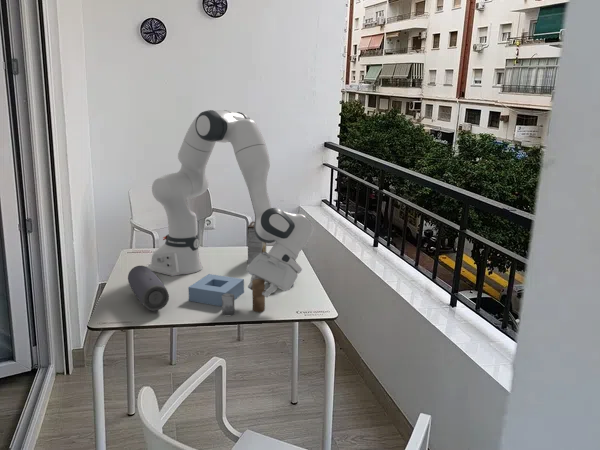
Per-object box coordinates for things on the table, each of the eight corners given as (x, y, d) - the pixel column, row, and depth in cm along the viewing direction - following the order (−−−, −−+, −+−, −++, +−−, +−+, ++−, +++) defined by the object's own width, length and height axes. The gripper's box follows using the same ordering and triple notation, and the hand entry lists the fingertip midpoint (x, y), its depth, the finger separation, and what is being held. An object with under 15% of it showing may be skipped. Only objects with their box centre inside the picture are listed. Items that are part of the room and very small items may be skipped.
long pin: (250, 311, 168) (250, 282, 165) (255, 306, 172) (255, 278, 169) (261, 313, 167) (261, 284, 164) (266, 308, 170) (266, 279, 168)
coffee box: (252, 257, 223) (251, 221, 219) (266, 258, 222) (266, 221, 218) (247, 263, 214) (246, 226, 210) (262, 264, 213) (262, 227, 209)
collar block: (188, 300, 175) (188, 287, 174) (209, 286, 188) (208, 273, 187) (225, 307, 171) (225, 292, 170) (244, 292, 184) (243, 279, 182)
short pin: (219, 314, 165) (219, 297, 163) (225, 309, 169) (225, 292, 167) (231, 316, 164) (230, 298, 162) (236, 311, 167) (236, 294, 166)
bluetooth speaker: (171, 311, 167) (170, 282, 164) (142, 316, 162) (140, 287, 160) (153, 288, 186) (152, 262, 184) (127, 292, 182) (125, 265, 179)
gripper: (256, 245, 177) (233, 278, 173) (295, 260, 162) (270, 297, 158) (267, 255, 181) (244, 288, 177) (305, 271, 166) (281, 306, 162)
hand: (257, 292), depth 167 cm, fingers open, 6 cm apart
